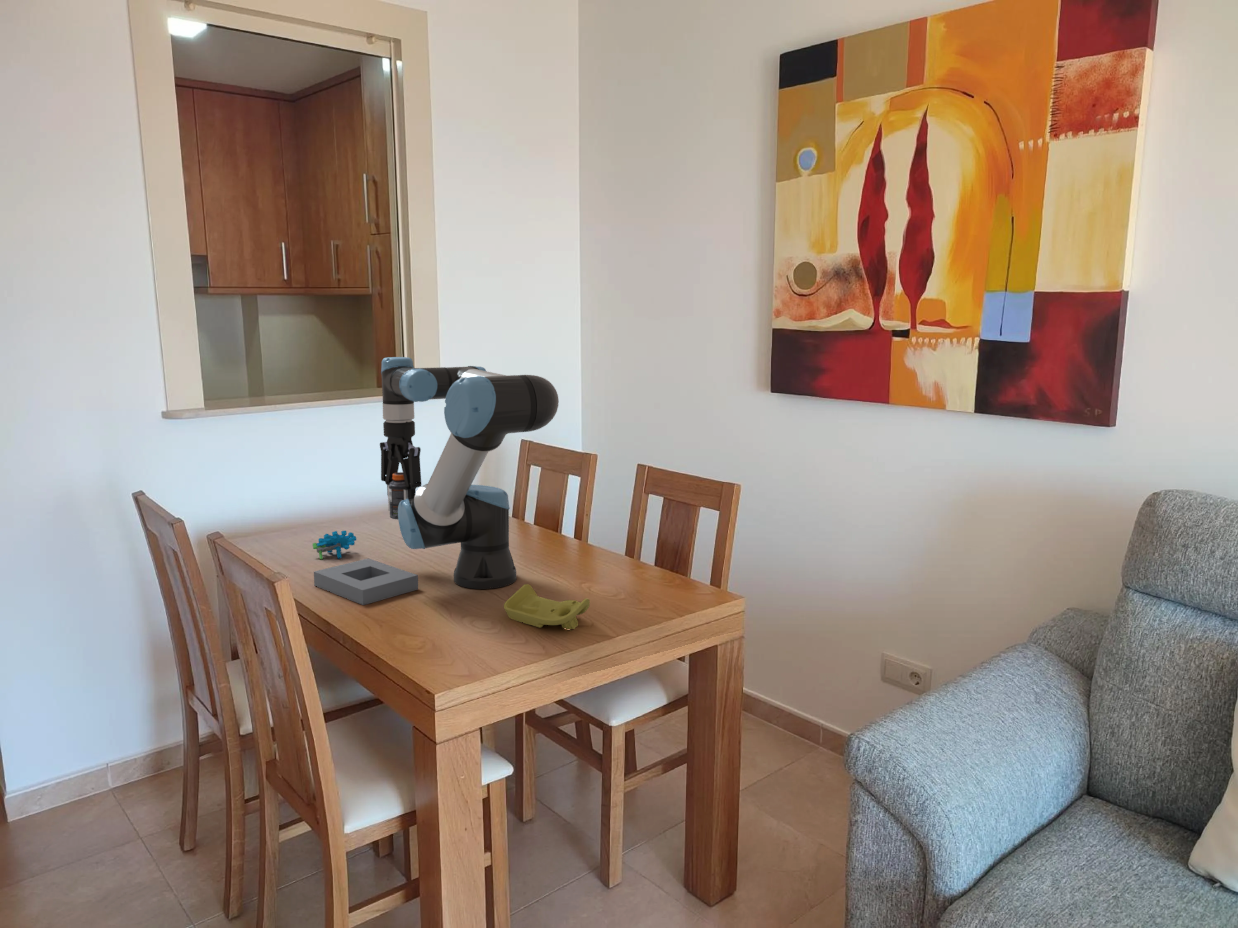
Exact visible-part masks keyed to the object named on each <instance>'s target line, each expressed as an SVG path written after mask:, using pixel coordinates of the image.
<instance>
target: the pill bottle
mask: <svg viewBox="0 0 1238 928" xmlns="http://www.w3.org/2000/svg"><path fill="white" fill-rule="evenodd" d="M392 479H393V481H392V482H390V484H389V503H390V511H389V517H390V518H391V519H392V520H396V521H397V520H398V506H399V503H400V502H401V501H402V500H404V488H405V487H406V485H405V480H404V476H403V471H402V472H401V471H400V472H399V471H398V473H393V477H392Z"/></svg>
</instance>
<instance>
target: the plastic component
mask: <svg viewBox="0 0 1238 928" xmlns="http://www.w3.org/2000/svg"><path fill="white" fill-rule="evenodd" d="M590 601H591V600H590V599H589V598H587V597H586V598H584V599H583V600H582V601H581V602H580V601H578V600H575V599H574V600H573V599H568V600H567V599H565V600H563V601H557V600H553V599H550V598H546V597H541V596H539V595H538V594H537V592H536V591H535V590H534V588H533V587H532V585H531V584H528V583H525V584H523V585H522V586H521V587H520V588H519V589H517V590H516V591H515V592H514V593H513V594H512V595H511V596H510V597H509V598H508V599H507V600H506V601H505V602H504V603H503V608H504V611H505V612H506V615H507V616H508V618H509V619H510V618H511V620H513V619H514V620H513V621H516V622H518V623H522V622H523V623H522V624H526V625H530V626H533V627H536V628H543V626H547V625H548V626H559V625H561V628H562V629H563V628H566V629H574V630H575V629H576V627H578V626H579V620H578V619H577V616H579V615H582V614H584V613H585V612H586V611H587V610H588V609H589V607H590V604H591V603H590Z"/></svg>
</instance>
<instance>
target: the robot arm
mask: <svg viewBox="0 0 1238 928" xmlns="http://www.w3.org/2000/svg"><path fill="white" fill-rule="evenodd" d="M380 375H381V389H382V390H381V391H382V395H381V396H382V419H383V420H385V421H383V427H382V428H383V435H384V437H386V438H387V440H386V441H384V442H383V441H382V442H380V443H379V448H380V480H381V482H385V485H386V491H387V493H386V494H387V503H388V505H387V506H388V511H389V512H390V503H389V484H390V482H392V481H393V479H392V477H393V473H398V472H399V467H400V466H401V471H402V472H403V476H404V480H405V485H406V487H405V488H404V500H402V501H401V502H400V503H399V506H398V526H399V530H400V534H401V537H402V539H403V542H404V544H405V545H406V546H407V547H408V548H409V549H411V550H419V549H423V550H425V549H429V548H435V547H442V546H447V545H452V544H453V545H454V544H458V543H459V544H460V550H459V551H460V552H459V555H458V558H457V562H456V565H455V568H454V571H453V582H454V583H455V584H456V585H458V586H460V587H462V588H467V589H475V590H487V589H488V590H491V589H498V588H503V587H506V585H507V586H510V585H512V584H514V582H516V580H517V569H516V565H515V563H514V559H513V556H512V553H511V550H510V516H509V515H510V503H509V495H508V493H507V491H506V490H505V489H502V488H499V487H495V486H490V485H482V484H473V482H474V480H475V478H476V477H477V475H478V473H479V471H480V469H481V467H482V466H483V463H484V461H485V459H486V458H487V455H488V454H489V452H492V451H494V450H496V449H498V447H500V446H501V444H502V442H503V440H504V439H505V437H506V436H507V434H515V433H527V432H528V433H529V432H534V431H537V430H540V429H542V428H544V427H545V426H547V425H548V424H549V423H550V422H552V421H553V419H555V416H556V414H557V412H558V408H559V394H558V391H557V389H556V388H555V386H554V385H553V384H552V382H550V381H549V380H548V379H546V378H545V377H542V376H538V375H534V374H533V375H532V374H519V375H516V374H513V375H511V374H510V375H506V374H501V373H497V372H491V371H488V370H486V368H485V367H482V366H477V365H475V366H474V365H468V366H451V367H446V366H445V367H442V366H441V367H440V366H439V367H415V366H414V361H413V359H412V358H411V357H408V356H406V357H405V356H392V357H391V356H390V357H389V356H388V357H384V358H383V359H382V360H381V371H380ZM430 400H444V403H445V407H444V408H443V412H444V413H443V414H444V421H445V423H446V426H447V429H448V430H449V433H450V435H449V437H448V439H447V441H446V443H445V446H444V448H443V449H442V452H441V454H440V457H439V459H438V461H437V463H436V465H435V466H434V470H433V472H432V473H431V476H430V478H429V480H428V483H425V484H423V485H422V475H421V474H422V473H421V470H422V469H421V458H420V457H421V450H422V449H421V447H420V446H414V444H413V441H412V438H413V437H414V436H415V434H416V422H415V420H414V419H415V402H417V403H418V402H419V403H422V402H423V403H424V402H427V401H430ZM416 489H417V490H416ZM509 584H510V585H509Z"/></svg>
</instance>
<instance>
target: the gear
mask: <svg viewBox="0 0 1238 928" xmlns="http://www.w3.org/2000/svg"><path fill="white" fill-rule="evenodd" d="M331 533H332V535H331V534H329V533H325V534H323V538H322V537H320V538H318V542H313V543H312V549H313V550H316V553H317V554H318V555H319V560H323V559H324V558H323V553H326V552H327V553H328V554H330V553H333V551H336V557H337V560H339V559H342V549H344V550H348V549H350V546H355V544H356V543H355V541H357V537H356V535H354V532H351V531H349V532H348V533H347V530H342V531H341V532H340V533H341V534H339V533H338V531H337V530H334V531H332V532H331Z"/></svg>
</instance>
